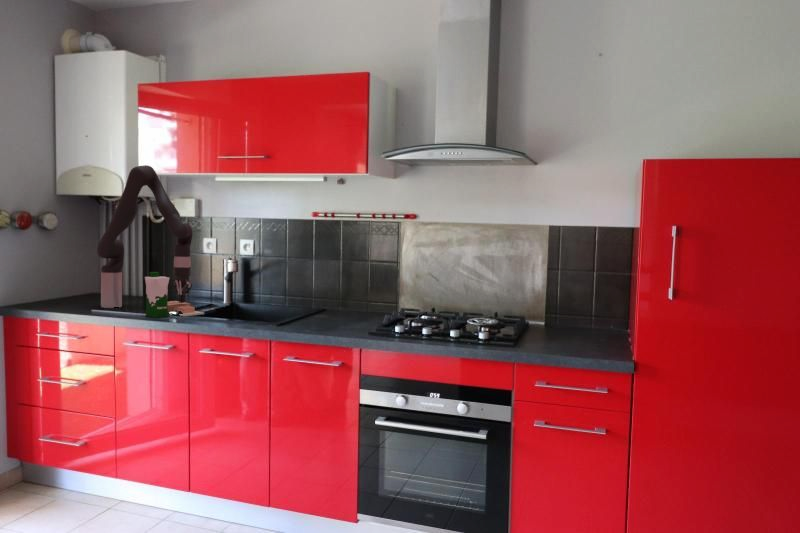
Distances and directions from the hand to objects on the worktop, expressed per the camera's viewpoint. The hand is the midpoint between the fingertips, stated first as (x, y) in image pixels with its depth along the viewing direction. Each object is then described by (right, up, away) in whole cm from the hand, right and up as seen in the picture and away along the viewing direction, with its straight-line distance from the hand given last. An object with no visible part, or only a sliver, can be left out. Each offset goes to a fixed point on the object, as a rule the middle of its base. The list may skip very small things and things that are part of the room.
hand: (181, 302), depth 312 cm
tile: (+1, -4, -1) cm, 5 cm away
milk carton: (-8, -6, -12) cm, 15 cm away
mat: (+3, -5, -2) cm, 6 cm away
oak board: (-6, -5, +5) cm, 9 cm away
